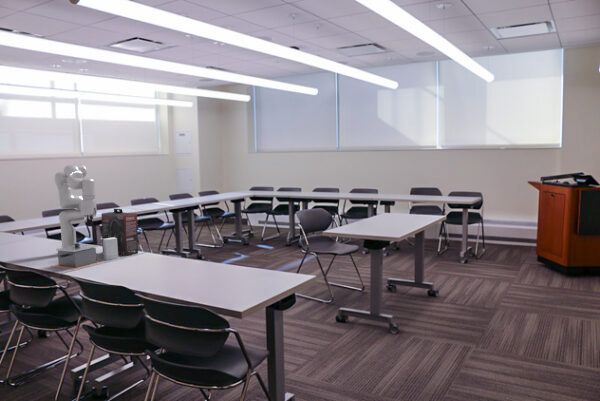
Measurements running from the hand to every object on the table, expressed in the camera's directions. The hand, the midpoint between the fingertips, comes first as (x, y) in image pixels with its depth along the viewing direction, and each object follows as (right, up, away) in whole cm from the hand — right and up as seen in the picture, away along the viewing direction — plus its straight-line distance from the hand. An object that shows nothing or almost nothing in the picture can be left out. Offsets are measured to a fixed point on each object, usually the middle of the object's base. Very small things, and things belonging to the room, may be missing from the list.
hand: (89, 225), depth 315 cm
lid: (-7, -15, -3) cm, 17 cm away
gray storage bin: (-7, -26, -2) cm, 27 cm away
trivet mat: (-7, -26, -2) cm, 27 cm away
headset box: (+7, -23, +36) cm, 43 cm away
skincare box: (+8, -25, +15) cm, 30 cm away
